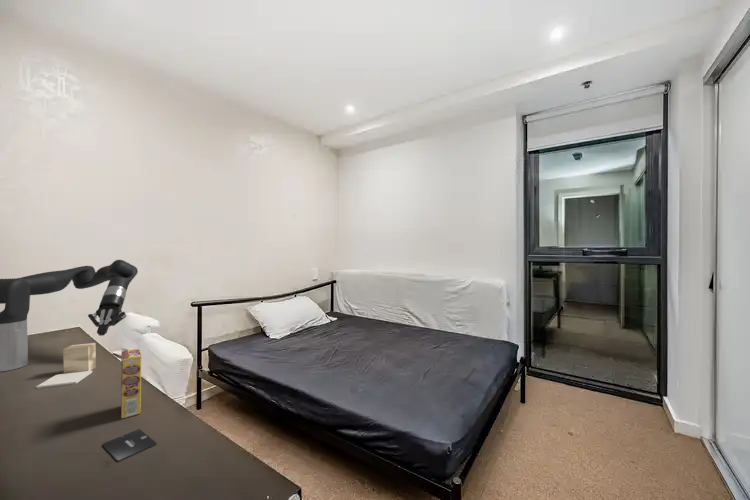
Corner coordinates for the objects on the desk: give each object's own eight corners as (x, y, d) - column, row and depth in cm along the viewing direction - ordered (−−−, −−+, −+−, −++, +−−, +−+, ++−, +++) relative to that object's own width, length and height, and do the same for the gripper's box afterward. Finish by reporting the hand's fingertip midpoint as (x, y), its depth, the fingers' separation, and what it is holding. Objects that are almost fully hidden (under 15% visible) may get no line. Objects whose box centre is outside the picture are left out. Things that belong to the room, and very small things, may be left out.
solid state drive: (139, 431, 75) (139, 428, 75) (157, 446, 69) (157, 443, 69) (101, 446, 69) (101, 443, 69) (117, 464, 63) (117, 461, 63)
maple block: (72, 369, 115) (71, 345, 115) (95, 367, 117) (95, 342, 117) (63, 374, 110) (63, 349, 110) (88, 372, 112) (88, 346, 112)
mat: (56, 376, 109) (56, 374, 109) (92, 372, 112) (92, 370, 112) (36, 388, 99) (36, 386, 99) (76, 383, 102) (76, 381, 102)
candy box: (142, 413, 82) (141, 355, 82) (121, 419, 80) (120, 359, 80) (140, 401, 89) (139, 347, 89) (121, 406, 87) (120, 350, 87)
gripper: (134, 302, 141) (123, 337, 130) (97, 304, 137) (83, 341, 126) (129, 292, 136) (118, 328, 125) (91, 294, 132) (76, 331, 120)
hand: (100, 334), depth 125 cm, fingers closed
